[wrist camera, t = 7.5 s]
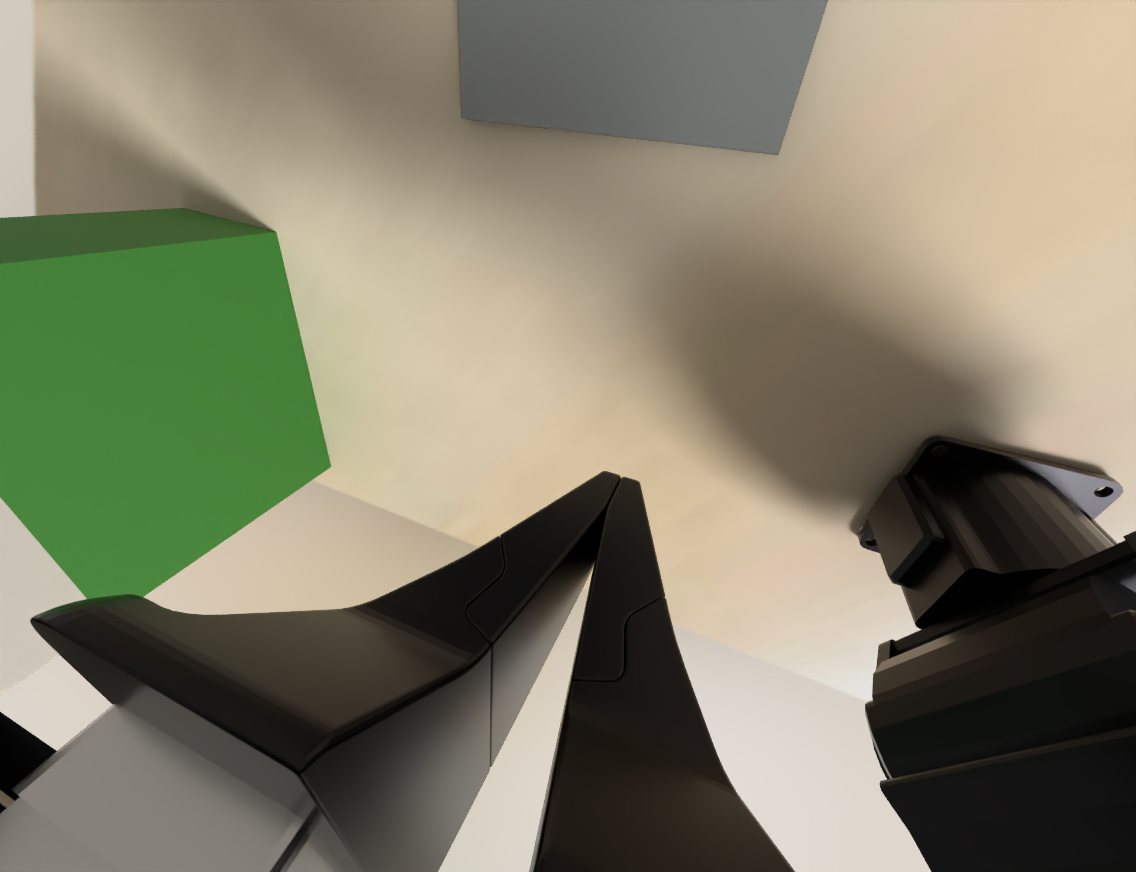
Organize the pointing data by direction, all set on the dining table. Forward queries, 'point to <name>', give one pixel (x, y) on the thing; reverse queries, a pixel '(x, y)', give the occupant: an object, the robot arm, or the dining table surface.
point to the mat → (639, 67)
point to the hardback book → (138, 405)
